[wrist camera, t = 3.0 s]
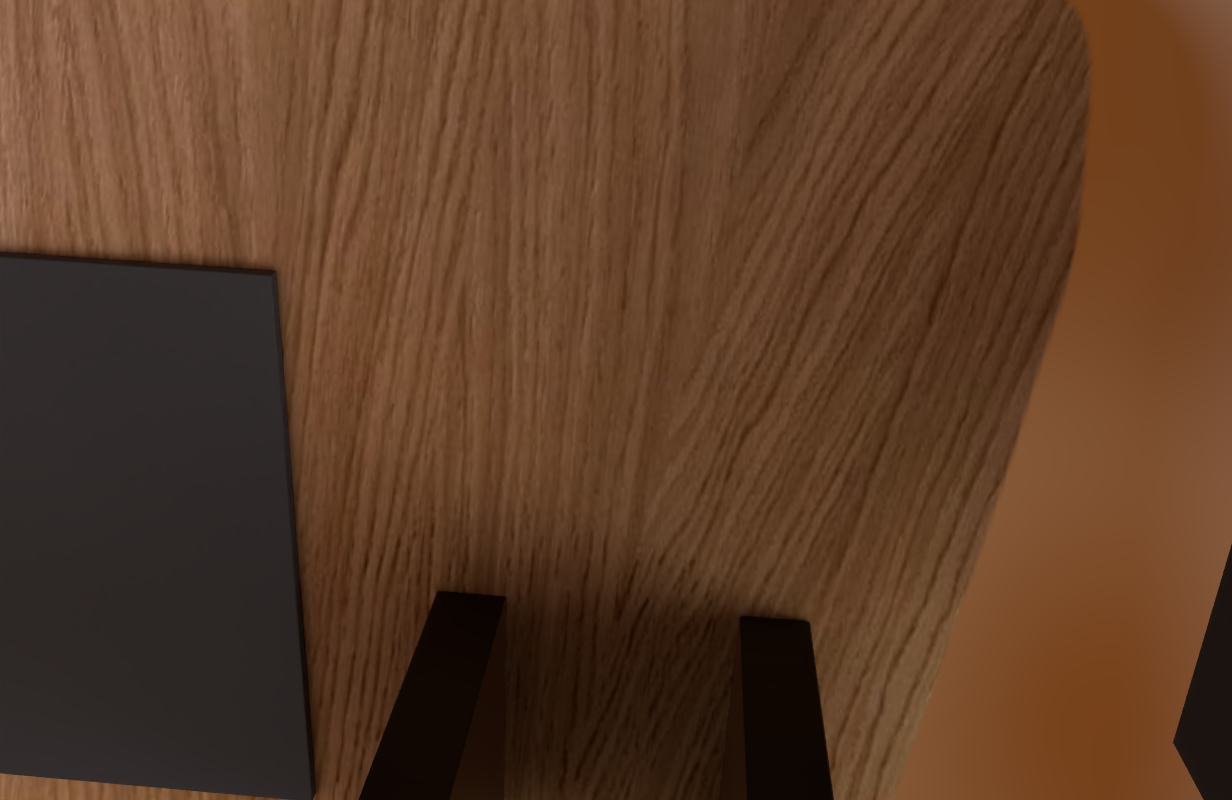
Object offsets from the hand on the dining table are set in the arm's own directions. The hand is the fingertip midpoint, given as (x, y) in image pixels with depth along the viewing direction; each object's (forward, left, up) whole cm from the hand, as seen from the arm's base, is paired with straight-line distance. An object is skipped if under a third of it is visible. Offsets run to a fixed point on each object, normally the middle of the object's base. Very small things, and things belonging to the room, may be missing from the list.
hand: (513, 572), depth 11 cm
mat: (+23, +21, -32) cm, 45 cm away
